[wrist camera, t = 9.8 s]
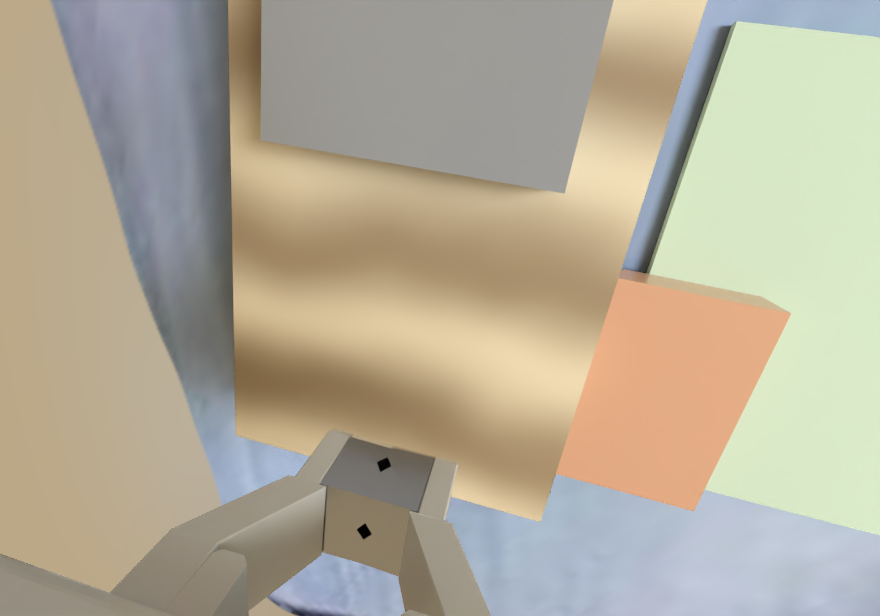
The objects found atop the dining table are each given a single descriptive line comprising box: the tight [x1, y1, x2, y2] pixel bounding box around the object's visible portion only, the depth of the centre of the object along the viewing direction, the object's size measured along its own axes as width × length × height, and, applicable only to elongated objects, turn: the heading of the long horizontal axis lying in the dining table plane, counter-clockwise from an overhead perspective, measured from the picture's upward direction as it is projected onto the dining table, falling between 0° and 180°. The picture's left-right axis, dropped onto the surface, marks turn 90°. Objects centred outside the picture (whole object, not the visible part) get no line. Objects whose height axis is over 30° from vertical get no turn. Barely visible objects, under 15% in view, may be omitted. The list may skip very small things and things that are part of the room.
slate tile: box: [261, 0, 614, 194], centre depth 12 cm, size 9×6×2 cm, turn 81°
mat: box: [646, 21, 880, 535], centre depth 16 cm, size 18×14×1 cm
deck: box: [228, 0, 707, 522], centre depth 17 cm, size 20×14×4 cm
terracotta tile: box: [556, 269, 791, 511], centre depth 17 cm, size 9×6×2 cm, turn 170°
